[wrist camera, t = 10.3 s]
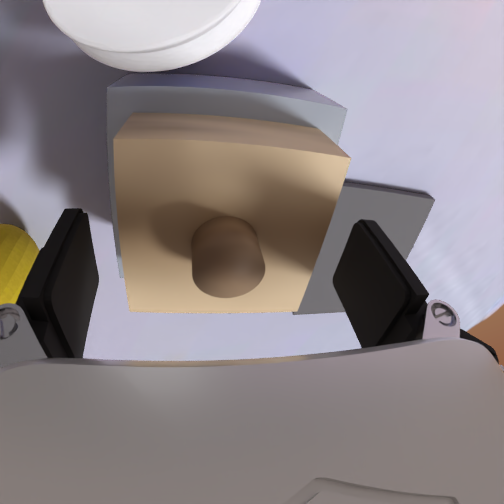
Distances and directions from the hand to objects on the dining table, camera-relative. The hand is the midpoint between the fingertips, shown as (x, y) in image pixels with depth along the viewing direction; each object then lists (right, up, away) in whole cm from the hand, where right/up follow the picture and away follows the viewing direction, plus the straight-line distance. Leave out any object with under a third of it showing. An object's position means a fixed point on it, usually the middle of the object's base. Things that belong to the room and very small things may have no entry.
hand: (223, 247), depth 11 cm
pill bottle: (-3, +11, 0) cm, 11 cm away
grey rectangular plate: (+9, 0, +11) cm, 14 cm away
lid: (0, +2, +2) cm, 3 cm away
